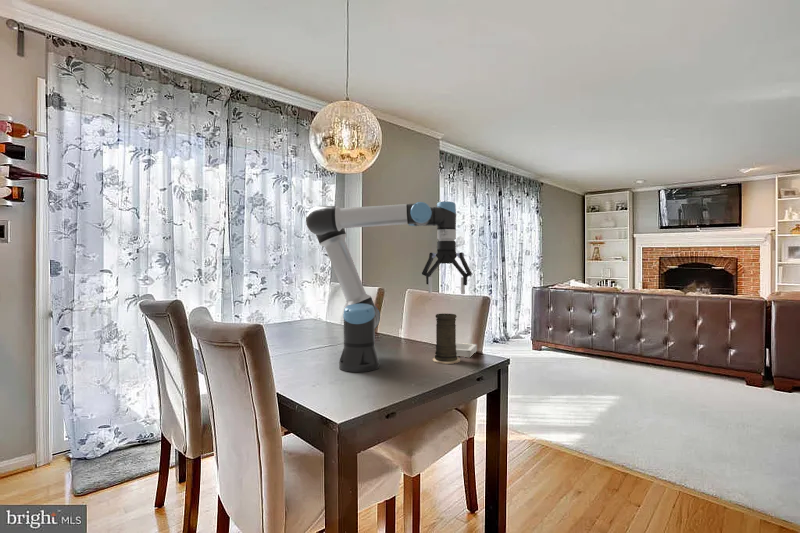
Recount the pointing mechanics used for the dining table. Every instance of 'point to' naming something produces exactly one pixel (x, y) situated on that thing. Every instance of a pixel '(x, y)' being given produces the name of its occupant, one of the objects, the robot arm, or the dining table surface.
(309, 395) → the dining table surface
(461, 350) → the cradle
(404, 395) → the dining table surface
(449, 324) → the container
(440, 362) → the disc
